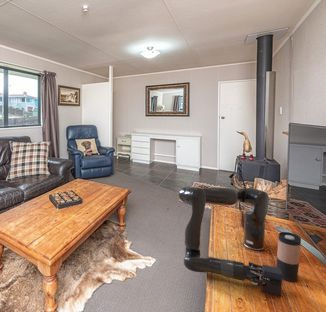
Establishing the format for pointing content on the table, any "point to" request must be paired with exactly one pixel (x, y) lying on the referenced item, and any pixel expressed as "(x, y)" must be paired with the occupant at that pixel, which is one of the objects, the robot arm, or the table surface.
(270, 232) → the table surface
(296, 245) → the travel mug
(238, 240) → the table surface
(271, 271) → the slate block
